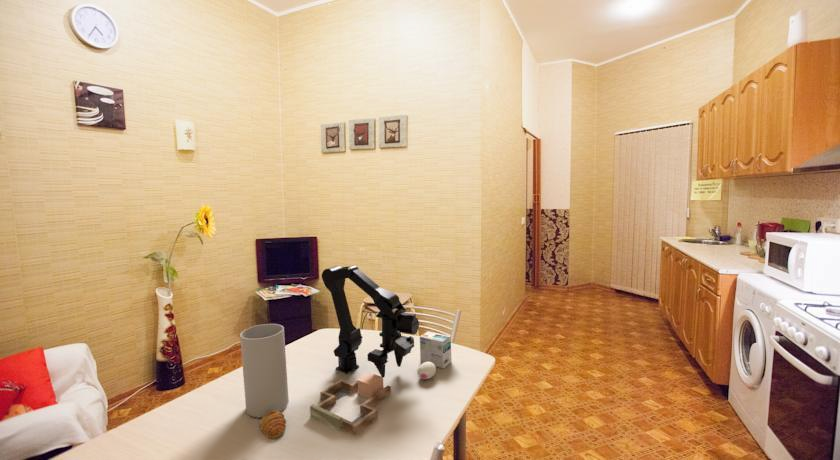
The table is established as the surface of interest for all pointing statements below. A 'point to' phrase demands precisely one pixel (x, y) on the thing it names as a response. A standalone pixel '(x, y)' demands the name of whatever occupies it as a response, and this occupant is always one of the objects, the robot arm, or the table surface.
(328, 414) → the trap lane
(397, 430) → the table surface
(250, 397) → the cylinder vase
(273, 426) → the pastry
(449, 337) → the light bulb box
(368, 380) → the terracotta block
